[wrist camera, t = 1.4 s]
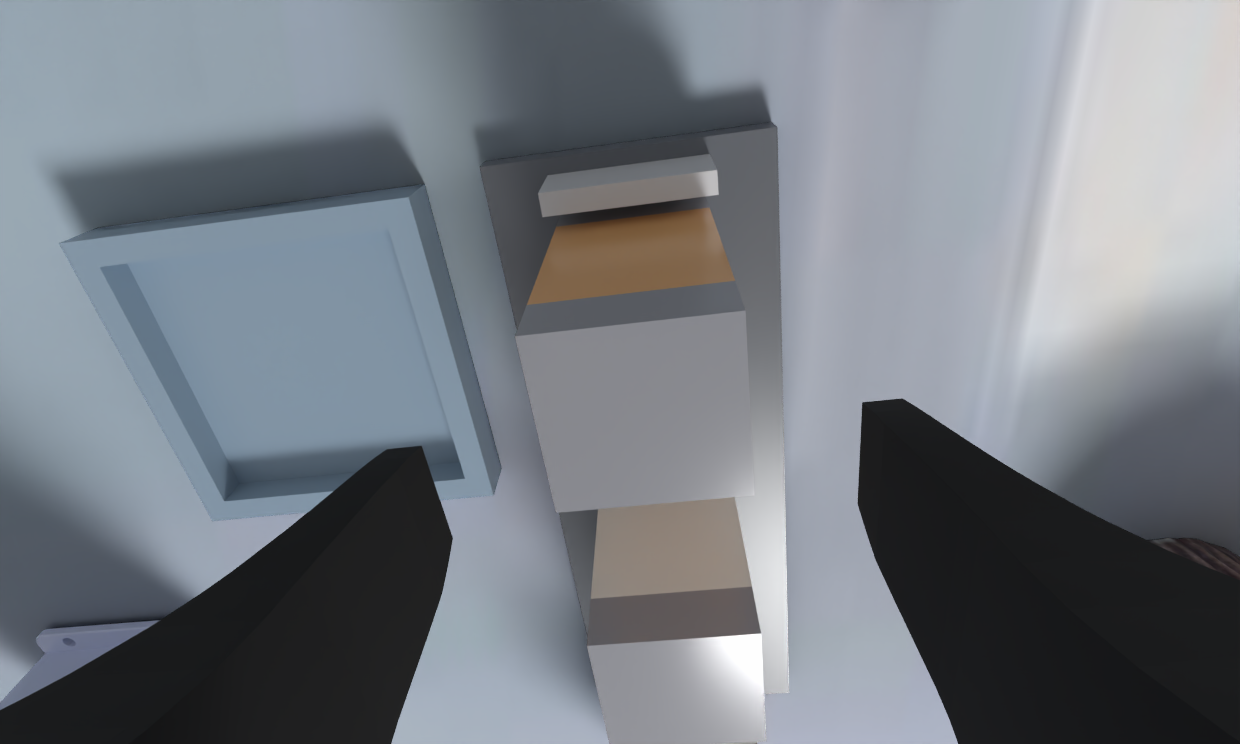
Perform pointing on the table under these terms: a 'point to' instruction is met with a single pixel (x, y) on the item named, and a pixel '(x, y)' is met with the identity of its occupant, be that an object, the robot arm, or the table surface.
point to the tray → (294, 345)
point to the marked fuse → (638, 360)
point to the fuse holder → (749, 231)
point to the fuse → (675, 626)
